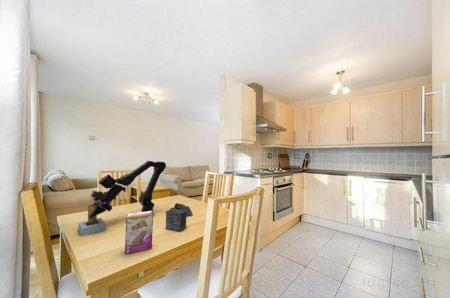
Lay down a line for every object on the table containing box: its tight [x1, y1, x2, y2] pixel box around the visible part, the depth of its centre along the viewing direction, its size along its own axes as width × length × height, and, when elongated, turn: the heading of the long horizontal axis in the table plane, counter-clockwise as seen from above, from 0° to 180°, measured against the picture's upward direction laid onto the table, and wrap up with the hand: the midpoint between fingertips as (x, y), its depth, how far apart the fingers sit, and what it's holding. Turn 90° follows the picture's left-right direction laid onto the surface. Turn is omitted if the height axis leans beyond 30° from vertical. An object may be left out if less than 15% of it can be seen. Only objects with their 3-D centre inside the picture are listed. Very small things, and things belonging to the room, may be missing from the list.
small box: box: [165, 208, 187, 233], centre depth 102 cm, size 11×6×10 cm, turn 71°
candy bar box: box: [124, 211, 154, 255], centre depth 80 cm, size 11×5×16 cm, turn 118°
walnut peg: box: [87, 203, 98, 226], centre depth 98 cm, size 4×4×12 cm
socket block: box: [77, 217, 106, 237], centre depth 98 cm, size 10×10×4 cm
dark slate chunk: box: [169, 203, 194, 217], centre depth 129 cm, size 15×22×5 cm
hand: (89, 216), depth 97 cm, fingers closed on walnut peg, 4 cm apart
